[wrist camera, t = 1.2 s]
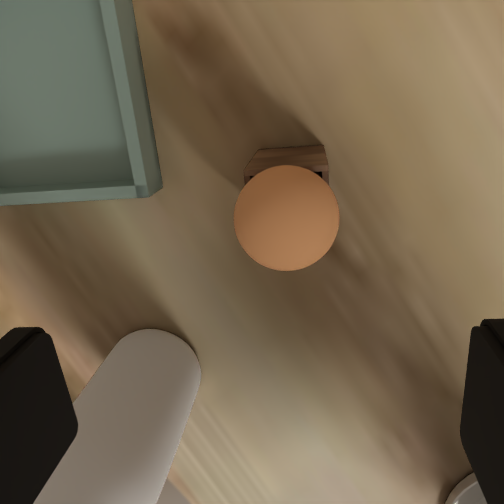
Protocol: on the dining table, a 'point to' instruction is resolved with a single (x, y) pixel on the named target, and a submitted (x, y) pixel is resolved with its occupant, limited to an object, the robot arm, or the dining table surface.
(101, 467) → the milk bottle
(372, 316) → the dining table surface
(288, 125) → the dining table surface
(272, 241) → the ball
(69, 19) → the tray
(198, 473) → the dining table surface
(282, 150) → the wooden box
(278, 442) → the dining table surface
